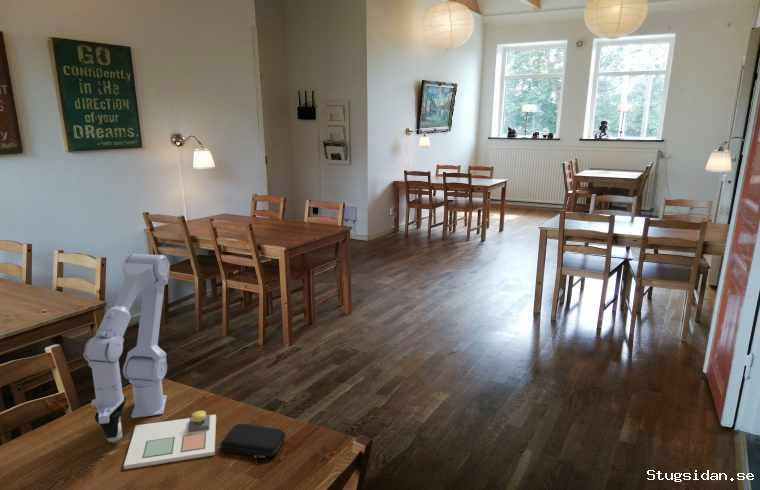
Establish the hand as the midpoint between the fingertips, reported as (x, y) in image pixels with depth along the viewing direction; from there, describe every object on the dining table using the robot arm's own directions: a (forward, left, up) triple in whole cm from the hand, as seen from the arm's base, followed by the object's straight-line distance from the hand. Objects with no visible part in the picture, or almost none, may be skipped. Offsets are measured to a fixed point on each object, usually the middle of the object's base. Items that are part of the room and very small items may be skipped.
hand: (114, 432), depth 123 cm
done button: (-1, +20, -1) cm, 20 cm away
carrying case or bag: (+10, +33, -4) cm, 35 cm away
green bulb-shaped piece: (0, 0, -2) cm, 2 cm away
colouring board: (+3, +14, -3) cm, 15 cm away
